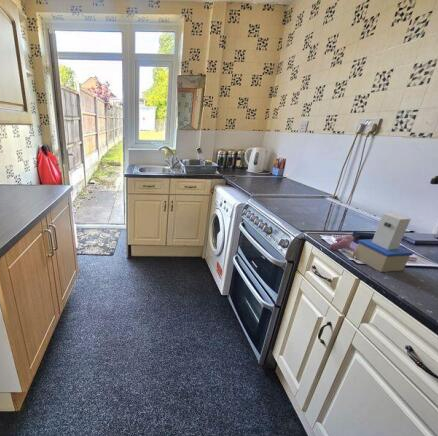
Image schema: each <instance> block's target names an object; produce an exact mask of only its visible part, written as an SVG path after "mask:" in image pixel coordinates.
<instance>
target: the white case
mask: <svg viewBox="0 0 438 436" xmlns="http://www.w3.org/2000/svg"><path fill="white" fill-rule="evenodd" d="M410 222H411V218H409V217H405V216H403V215H399V214H396V213H393V212H387V213H382V215H381V217H380V219H379V221H378V225H377V228H376V230H375V231H374V235H373V238H372V239H373V240H372V243H374V244H376V245H378V246H380V247H382V248H385V249H387V250H393V249H398V247H400V245H401V243H402V240H403V237H404V236H405V233H406V231H407V229H408V227H409V224H410Z"/></svg>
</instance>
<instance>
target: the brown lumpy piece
mask: <svg viewBox="0 0 438 436" xmlns="http://www.w3.org/2000/svg"><path fill="white" fill-rule="evenodd" d="M350 234H351V233H350ZM350 234H345V235H344V236H339V237H337V238H336V239H334V243H331V244H329V249H330V250H334V251H338V250H340V249H342V250H343V249H346V248H347V249H348V248H350V247H351V243H352V242H354V240H355V239H356V238H355V237H354V235H350ZM335 241H337V243H336V242H335Z"/></svg>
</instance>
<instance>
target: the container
mask: <svg viewBox="0 0 438 436" xmlns="http://www.w3.org/2000/svg"><path fill="white" fill-rule="evenodd" d="M372 240H373V238H370V239H367V238H366V239H358V240H357V247H356V249H355V251H354V254H353V256H355V257H356V258H358V259H359V260H358V259H357V260H358V261H360V262H361V261H362V262H361V263H362V264H365V265H367V266H368V267H371V268H372V269H374V270H376V271H378V272H380V273H386V272H399V271H400V272H401V271H404V269H405V268H406V265H407V263H408V261H409V259H410V257H411V256H413V255H414V252H412V251H410V250H407V249H405V248H403V247H401V246H399V247H398V249H393V250H387V249H385V248H382V247H380V246H378V245H376V244H374V243H372ZM356 258H355V259H356Z"/></svg>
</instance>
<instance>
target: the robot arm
mask: <svg viewBox="0 0 438 436" xmlns="http://www.w3.org/2000/svg"><path fill="white" fill-rule="evenodd" d="M429 184H430V185H438V175H435V176H434V177H432V178H431V179H430V182H429Z"/></svg>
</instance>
